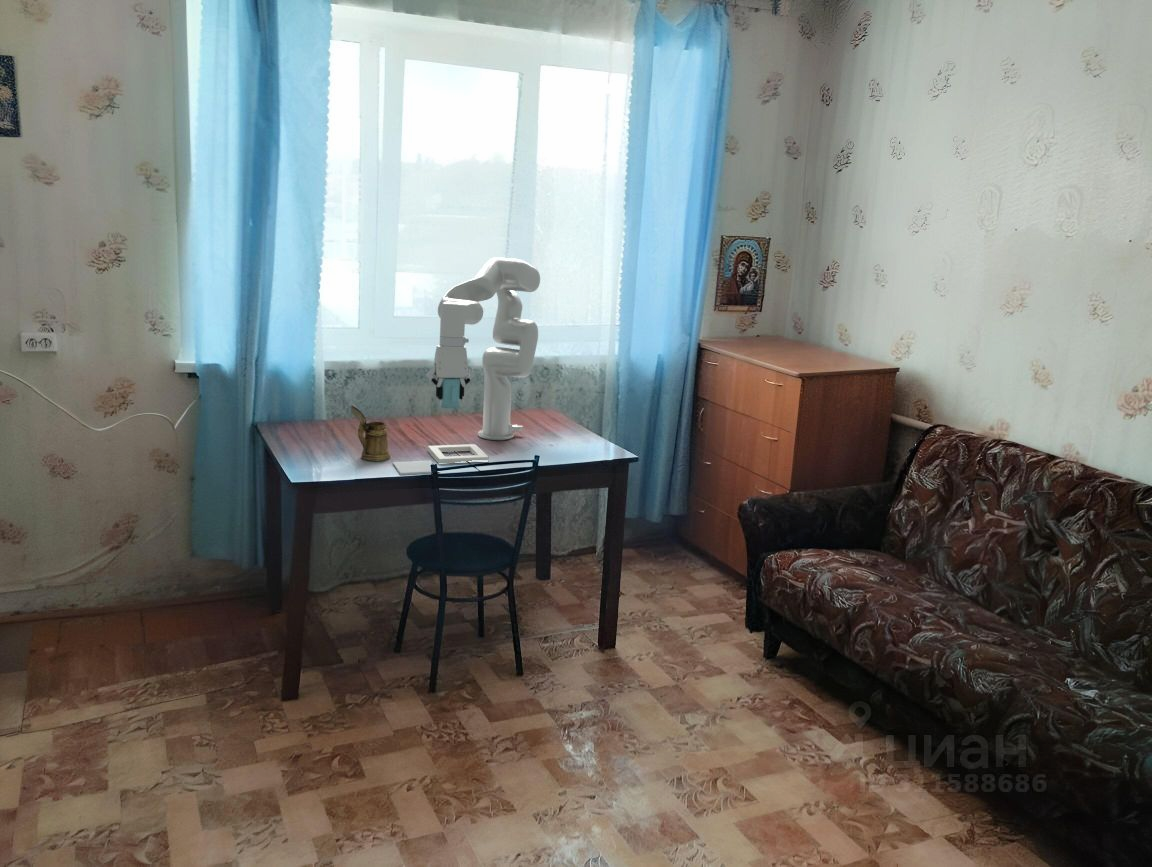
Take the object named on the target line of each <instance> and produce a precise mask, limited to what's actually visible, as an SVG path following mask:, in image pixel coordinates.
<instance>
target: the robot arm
mask: <svg viewBox="0 0 1152 867" xmlns="http://www.w3.org/2000/svg"><path fill="white" fill-rule="evenodd" d="M540 284H541V275H540V272H539V270H538V269H537V268H536V267H535V266H533V265H531V264H529V263H528V262H526V261H524V260H522V259H518V258H507V257H493V258H490V259H489V260H487V262H486V263H485V264H484V265H483V266H482V267H481V269H479V271H478V273H477V274H476V275H475V276H474V278H472V279H469V280H467V281H463V282H462V283H460V284H457V285H454V286H453V287H452V288H450V289H448V291H447V292H446V293H445V294H444V295H443V297H442V298H441V300H440V301H439V303H438V307H437V315H438V318H440V322H439V324H440V327H439V344H438V345H436V348H435V353H434V360H433V367H432V368H430V369H429V371H428V372H427V373H425V374H426V377H427V378H428V379H429V380H430V382H432V383H433V384H434V385H435V396H436V398H437V399H438V401H439V400H441V399H442V387H441V384H442V382H443V379H444V378H459V379H460V400H463V398H464V397H465V387H466V386H467V385H468V384H469V383H470V382H471V380H472V379H474V377H476V374H475V373H474V372H473V371H472V370H471V369H470V368H469V366H468V351H467V347H466V346H465V345H466V344H468V343H469V341H470V340H469V338H468V337H465V326H466V325H476V324H478V323H479V322H481V320H482V319H483V316H484V308H483V306H482V305H481V303H480V302H484V301H488V300H490V299H492V298H493V297H494V296H495V294H496V296H497V310H496V314H495V319H494V325H493V328H492V339H493V341H494V342H495V343H498V344H500V345H503V346H504V345H505V346H515V347H519V349H518V348H516V349H515V348H511V347H503V346H492V347H491V346H490V347H489V348H487V349H485V351H483V355H482V370H483V378H484V379H483V381H484V383H483V386H484V387H483V388H484V389H483V410H482V412H483V414H482V415H483V416H482V429H480V430H479V431H478V432H477V436H478V437H480V438H482V439H485V440H490V441H491V440H492V441H505V440H506V441H507V440H511V439H513V438H514V437H515V436H514V435H515V432H523V431H524V426H523V425H518V424H512V423H511V410H512V406H511V405H512V384H511V382H510V381H509V379H508V377H513V378H520V379H521V378H527V377H528V376H529V375H530V374H531V372H532V368H533V364H534V360H535V356H536V352H537V351H536V349H537V345H538V340H539V327H538V324H537V323H536V322H535V321H533V320H532V319H525V318H521V317H522V312H523V304H522V301H521V298H520V297H519V295H518V293H517V292H526V293H533V292H536V291H537V289H539V287H540ZM433 375H434V376H436V377H437V378H435V377H434V376H433Z"/></svg>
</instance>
